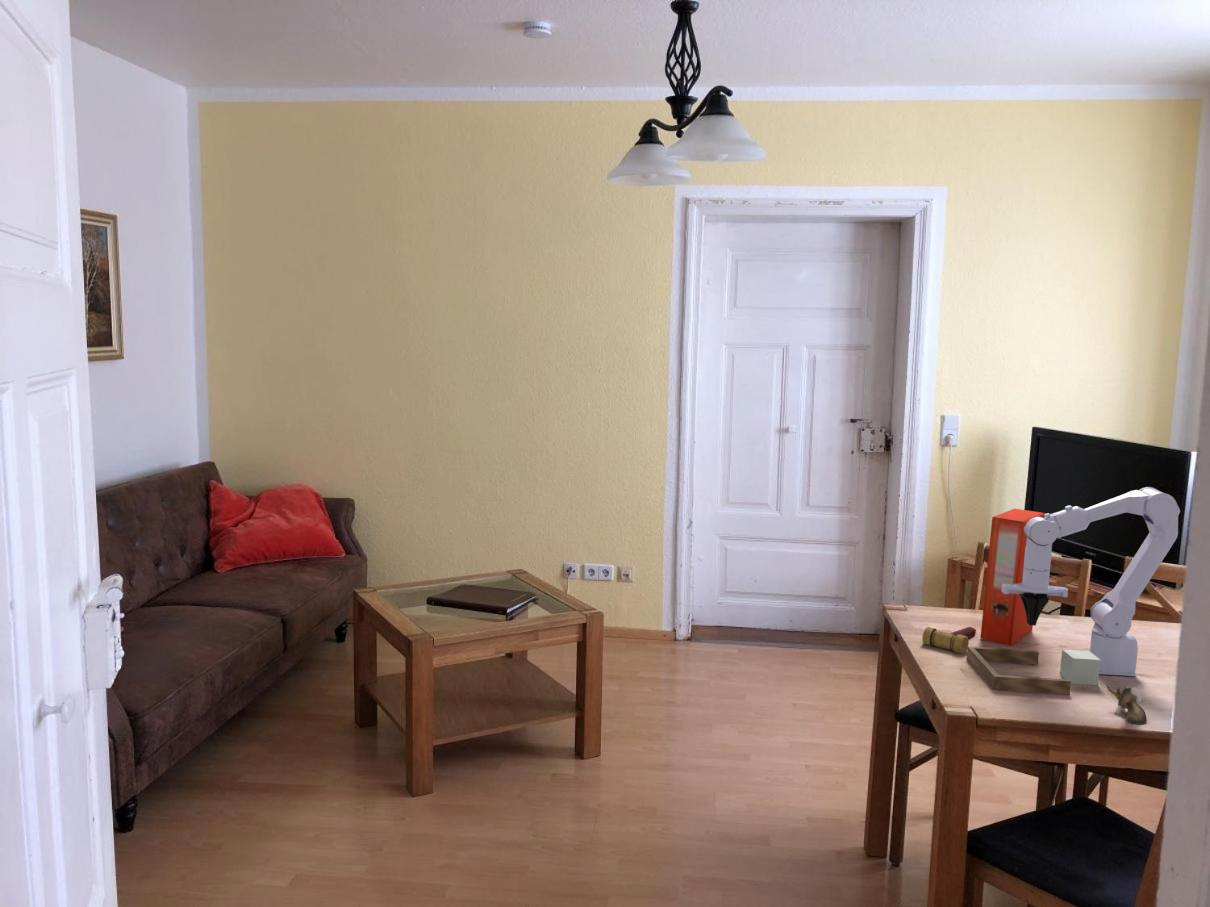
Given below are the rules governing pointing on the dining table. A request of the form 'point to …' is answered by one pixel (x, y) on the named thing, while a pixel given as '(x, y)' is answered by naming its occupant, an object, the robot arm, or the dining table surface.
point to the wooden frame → (1014, 683)
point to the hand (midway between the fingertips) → (1031, 624)
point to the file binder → (1006, 578)
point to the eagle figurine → (1130, 705)
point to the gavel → (948, 639)
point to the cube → (1080, 667)
